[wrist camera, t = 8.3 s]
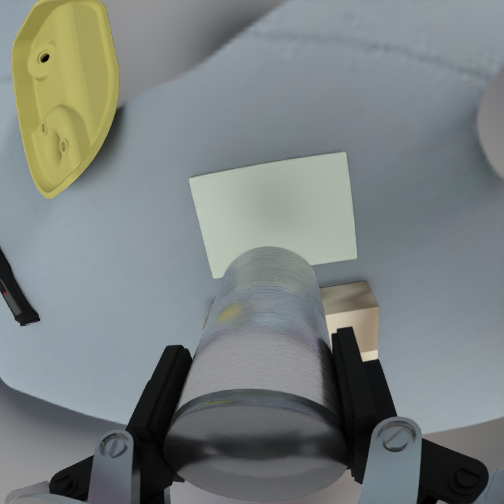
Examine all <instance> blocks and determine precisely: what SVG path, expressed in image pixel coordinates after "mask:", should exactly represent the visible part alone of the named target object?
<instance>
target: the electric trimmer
mask: <svg viewBox="0 0 504 504" xmlns="http://www.w3.org/2000/svg"><path fill="white" fill-rule="evenodd" d="M0 292H1V294H2V295H3V297H4V299H5V301H6V303H7V304H8V306H9V308H10V310H11V311H12V313H13V315H14V317H15V320H16V321H17V322H19V323H20V326H26V325H30V324H32V323H35V322H38V321H40V319H39V318H38V317H39V315H38V314H37V313H33V311H32V310H31V308H30V307H29V305H28V303H27V302H26V300H25V298H24V297H23V295H22V293H21V292H20V290H19V288H18V287H17V285H16V283H15V281H14V280H13V278H12V276H11V271H10V266H9V264H8V263H7V261H6V260H5V258H4V256H3V255H2V253H1V251H0Z"/></svg>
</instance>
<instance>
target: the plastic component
mask: <svg viewBox="0 0 504 504" xmlns="http://www.w3.org/2000/svg"><path fill="white" fill-rule="evenodd" d="M46 55H49V56H50V57H49V59H48V60H47V61H46V62H45V63H42V59H43V57H45V56H46ZM11 67H12V77H13V86H14V94H15V101H16V108H17V114H18V120H19V126H20V131H21V136H22V141H23V146H24V150H25V154H26V158H27V162H28V166H29V169H30V172H31V175H32V178H33V180H34V183H35V185H36V187H37V189H38V190H39V192H40V193H41V194H42V195H43V196H44V197H46V198H49V199H50V198H53V197H55V196H56V195H58V194H59V193H60V192H61V191H63V190H64V189H65V188H67V187H68V186H69V185H70V184H71V183H73V182H74V181H75V180H76V179H77V178H78V177H79V176H80V175H81V174H82V172H83V171H84V170H85V169H86V168H87V167H88V166H89V164H90V163H91V161H92V160H93V159H94V157H95V156H96V154H97V153H98V151H99V149H100V148H101V146H102V144H103V142H104V140H105V138H106V136H107V134H108V132H109V129H110V127H111V124H112V121H113V118H114V115H115V112H116V107H117V103H118V97H119V65H118V61H117V56H116V52H115V47H114V43H113V38H112V33H111V29H110V24H109V19H108V14H107V9H106V7H105V5H104V4H103V3H102V2H101V1H100V0H39V1H38V2H36V3H35V4H34V6H33V7H32V9H31V11H30V12H29V14H28V16H27V17H26V19H25V21H24V23H23V24H22V26H21V28H20V30H19V32H18V34H17V35H16V38H15V40H14V43H13V48H12V54H11Z"/></svg>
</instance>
